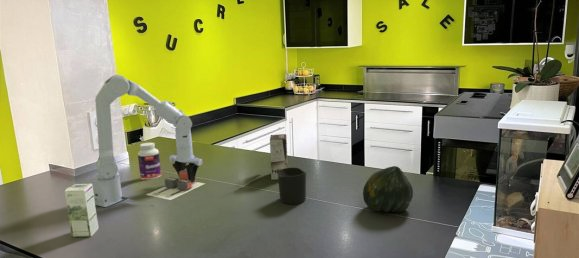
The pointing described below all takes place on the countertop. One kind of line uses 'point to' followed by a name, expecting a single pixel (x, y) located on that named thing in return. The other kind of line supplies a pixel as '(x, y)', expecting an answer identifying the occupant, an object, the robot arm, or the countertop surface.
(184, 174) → the cap
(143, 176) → the pill bottle
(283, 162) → the coffee box
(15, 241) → the countertop surface
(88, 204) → the syrup box
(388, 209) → the squash
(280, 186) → the pen holder
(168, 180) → the block
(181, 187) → the breaker
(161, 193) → the board
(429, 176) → the countertop surface
